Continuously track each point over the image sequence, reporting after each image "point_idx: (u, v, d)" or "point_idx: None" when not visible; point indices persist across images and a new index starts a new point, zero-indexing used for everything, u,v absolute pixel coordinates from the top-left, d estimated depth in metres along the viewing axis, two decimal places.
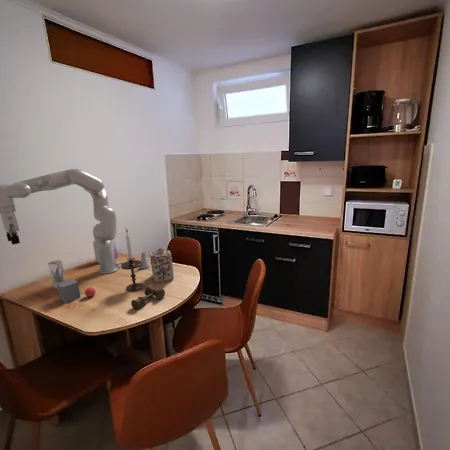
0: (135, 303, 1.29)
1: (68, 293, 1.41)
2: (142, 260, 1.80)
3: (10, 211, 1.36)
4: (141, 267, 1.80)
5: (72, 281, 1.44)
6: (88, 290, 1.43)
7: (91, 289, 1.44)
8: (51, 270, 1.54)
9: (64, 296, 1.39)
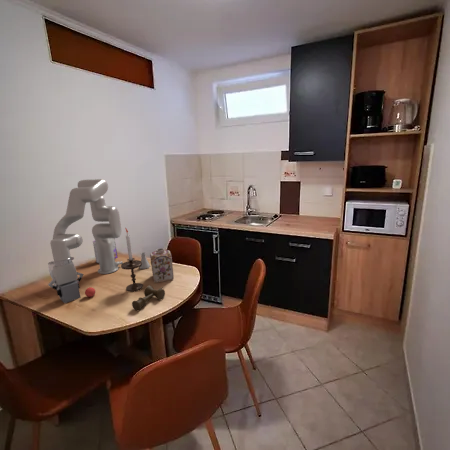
0: (136, 304, 1.29)
1: (68, 293, 1.41)
2: (142, 260, 1.80)
3: None
4: (141, 267, 1.80)
5: (72, 281, 1.44)
6: (88, 290, 1.43)
7: (91, 289, 1.44)
8: (51, 270, 1.54)
9: (64, 296, 1.39)
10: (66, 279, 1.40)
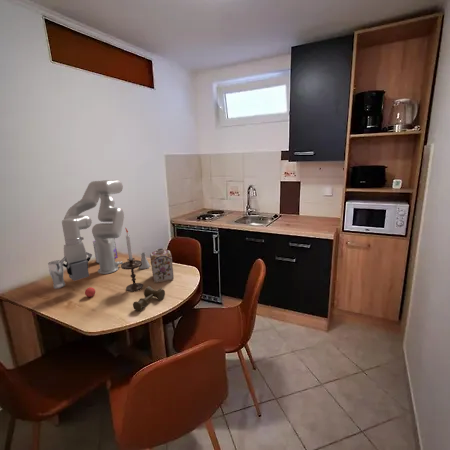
0: (138, 305, 1.28)
1: (78, 271, 1.47)
2: (142, 260, 1.80)
3: None
4: (141, 267, 1.80)
5: None
6: (88, 290, 1.43)
7: (91, 289, 1.44)
8: (51, 270, 1.54)
9: (74, 274, 1.46)
10: (76, 258, 1.47)
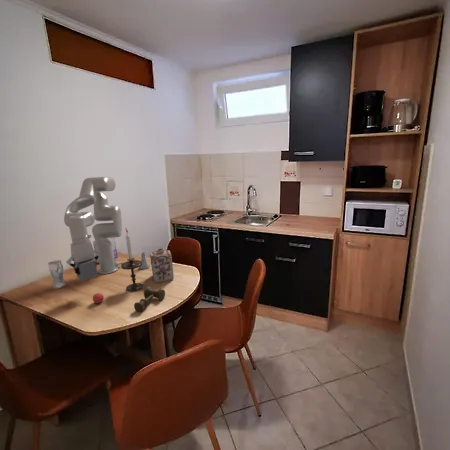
0: (139, 305, 1.27)
1: (86, 271, 1.40)
2: (142, 260, 1.80)
3: None
4: (141, 267, 1.80)
5: None
6: None
7: None
8: (51, 270, 1.54)
9: (82, 274, 1.39)
10: (84, 257, 1.40)
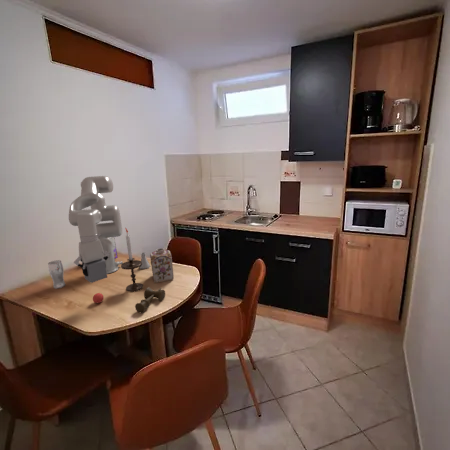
0: (141, 306, 1.27)
1: (95, 272, 1.30)
2: (142, 260, 1.80)
3: None
4: (141, 267, 1.80)
5: None
6: None
7: None
8: (51, 270, 1.54)
9: (91, 275, 1.29)
10: (92, 257, 1.30)
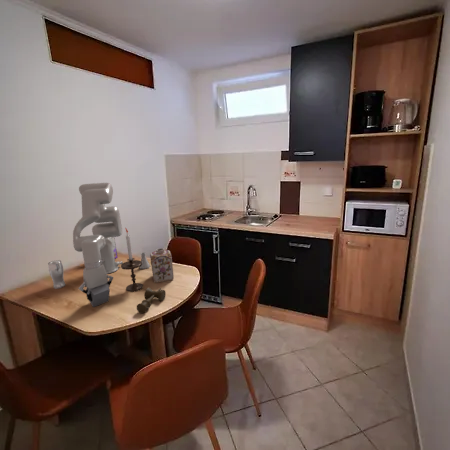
0: (142, 306, 1.26)
1: (98, 299, 1.34)
2: (142, 260, 1.80)
3: None
4: (141, 267, 1.80)
5: (103, 285, 1.36)
6: None
7: None
8: (51, 270, 1.54)
9: (94, 301, 1.33)
10: (97, 282, 1.33)
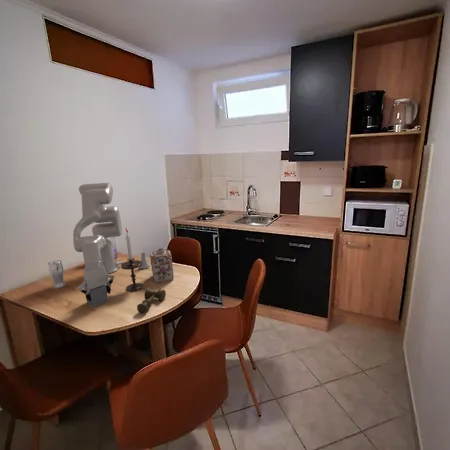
0: (143, 307, 1.26)
1: (96, 297, 1.35)
2: (142, 260, 1.80)
3: None
4: (141, 267, 1.80)
5: None
6: None
7: None
8: (51, 270, 1.54)
9: (92, 300, 1.34)
10: (97, 283, 1.33)
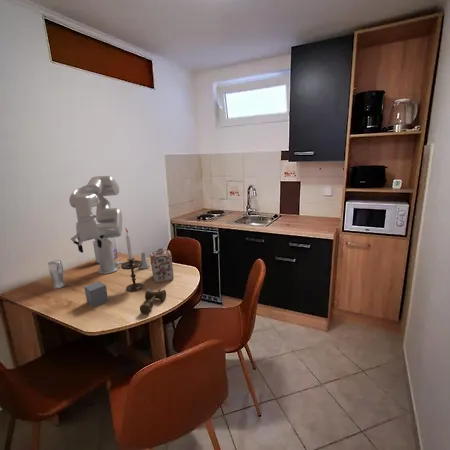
0: (146, 307, 1.25)
1: (96, 297, 1.35)
2: (142, 260, 1.80)
3: None
4: (141, 267, 1.80)
5: (100, 284, 1.39)
6: None
7: None
8: (51, 270, 1.54)
9: (92, 300, 1.34)
10: (89, 236, 1.45)
